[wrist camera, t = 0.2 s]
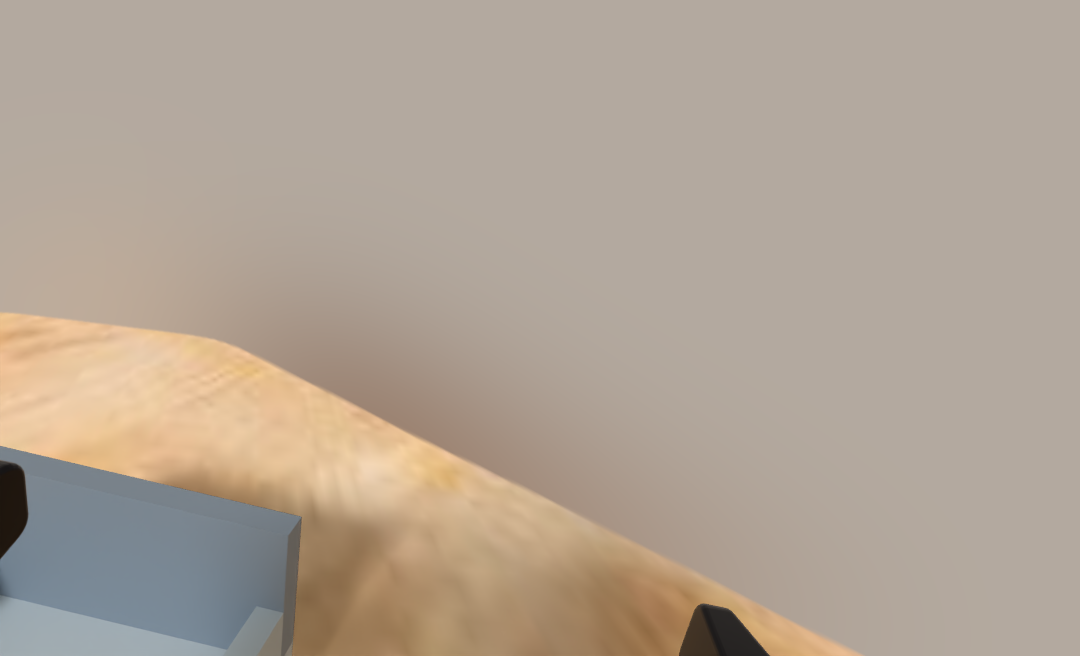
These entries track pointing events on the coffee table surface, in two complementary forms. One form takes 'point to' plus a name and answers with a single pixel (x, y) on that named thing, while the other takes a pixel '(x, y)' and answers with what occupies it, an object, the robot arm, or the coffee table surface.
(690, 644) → the robot arm
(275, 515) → the seat tray
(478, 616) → the coffee table surface
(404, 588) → the coffee table surface
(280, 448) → the coffee table surface
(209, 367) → the coffee table surface
